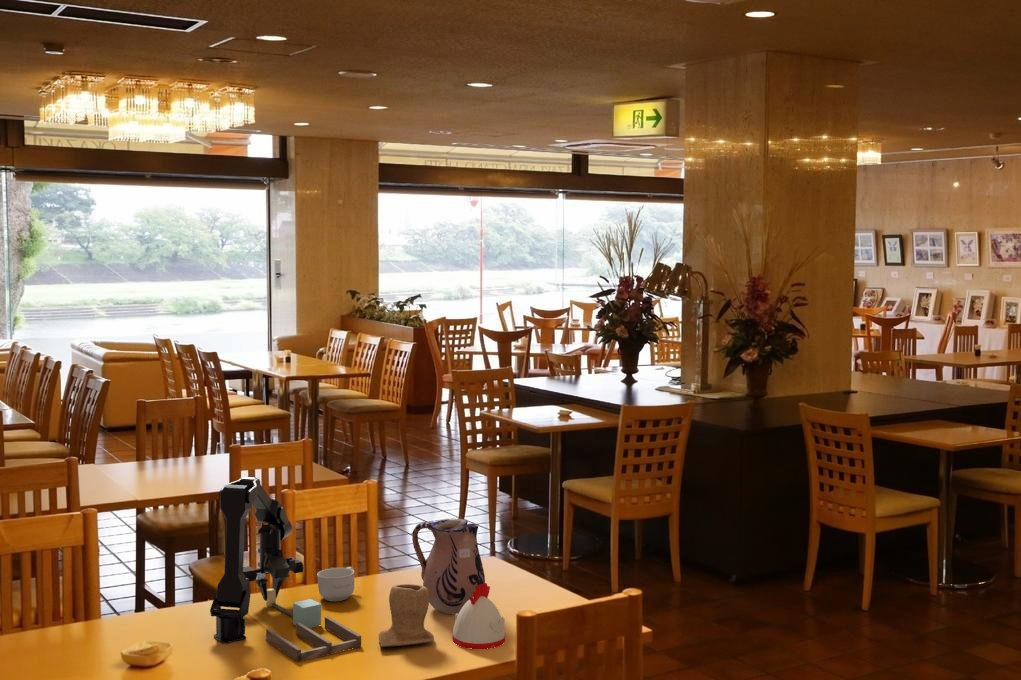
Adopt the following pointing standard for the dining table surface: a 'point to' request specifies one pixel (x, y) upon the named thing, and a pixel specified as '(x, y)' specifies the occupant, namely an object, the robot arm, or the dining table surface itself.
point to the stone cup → (407, 616)
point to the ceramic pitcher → (450, 563)
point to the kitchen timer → (479, 622)
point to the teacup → (336, 583)
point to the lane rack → (315, 641)
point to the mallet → (299, 610)
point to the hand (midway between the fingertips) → (270, 599)
